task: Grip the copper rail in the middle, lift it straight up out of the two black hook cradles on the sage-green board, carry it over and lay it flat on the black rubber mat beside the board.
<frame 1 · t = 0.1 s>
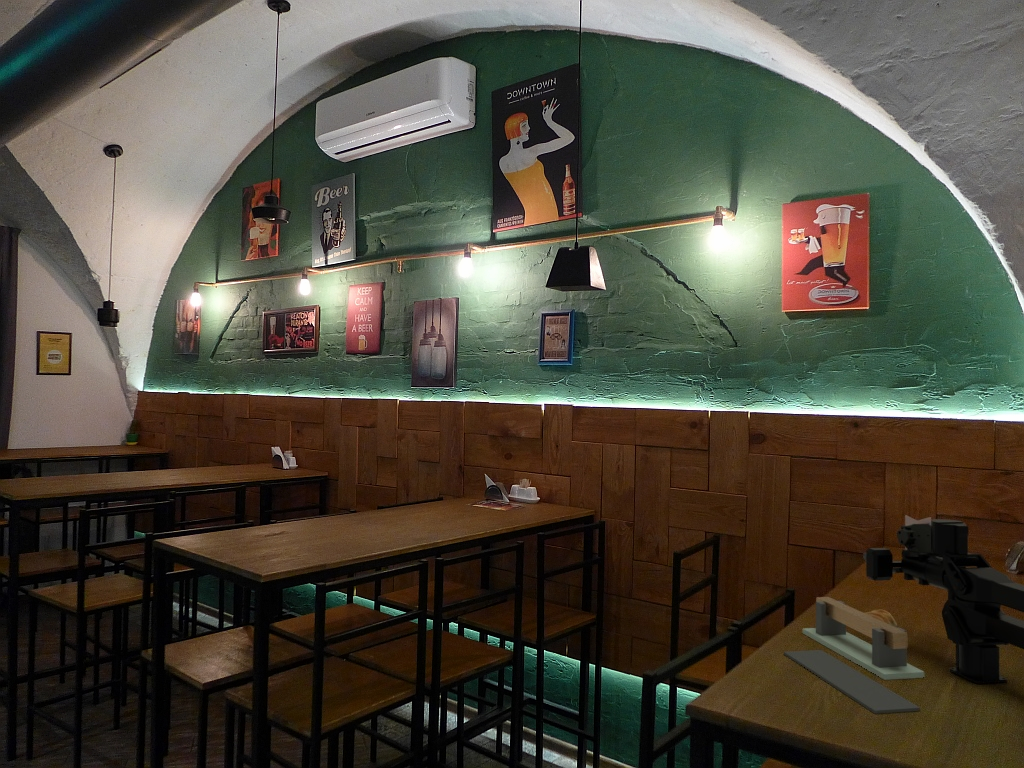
hand: (883, 554, 156), 17 cm above the table, tool horizontal, fingers open, 9 cm apart
greeting card: (914, 568, 218), on the table
rubber mat: (845, 679, 128), on the table
pastry: (876, 630, 158), on the table
copper rail: (858, 627, 142), point 5 cm above the table, touching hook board
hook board: (858, 653, 142), on the table
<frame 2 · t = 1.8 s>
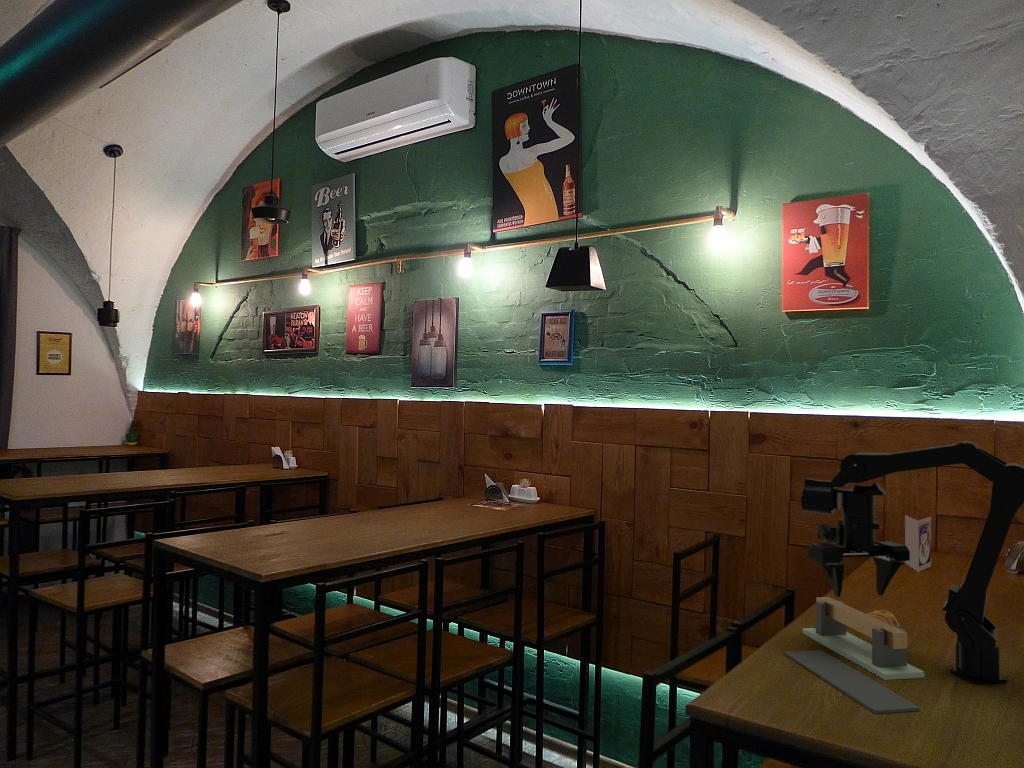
hand: (858, 595, 142), 11 cm above the table, tool pointing down, fingers open, 9 cm apart
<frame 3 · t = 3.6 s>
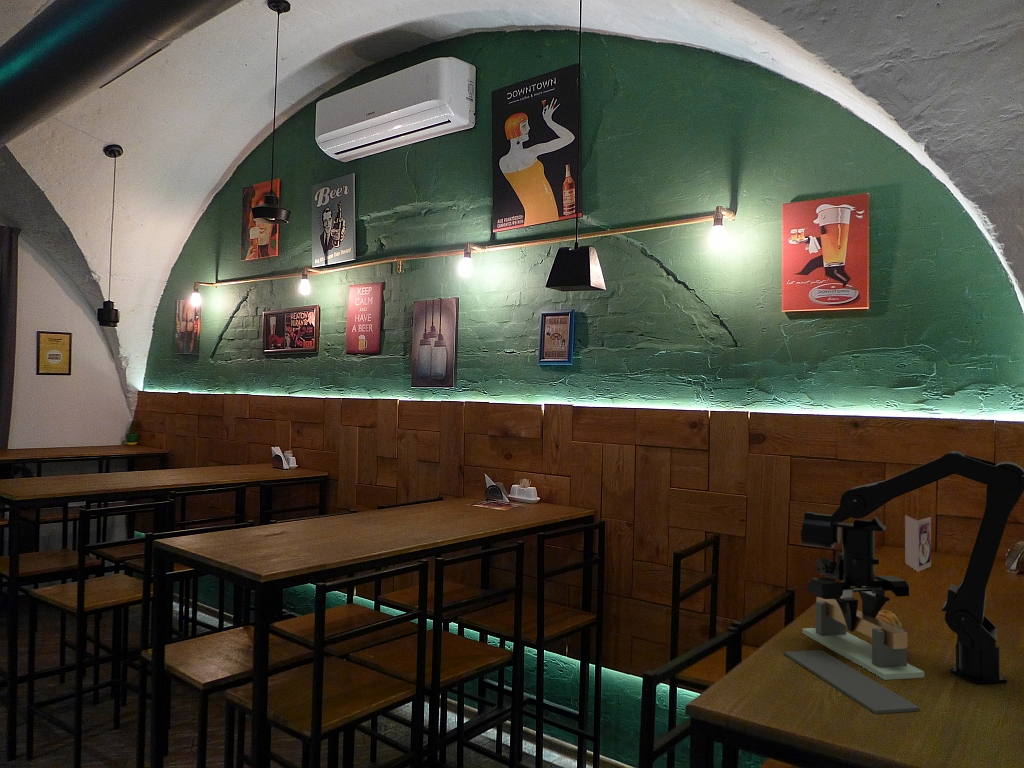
hand: (858, 630, 142), 4 cm above the table, tool pointing down, fingers closed on copper rail, 3 cm apart
copper rail: (858, 627, 142), point 5 cm above the table, touching gripper, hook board
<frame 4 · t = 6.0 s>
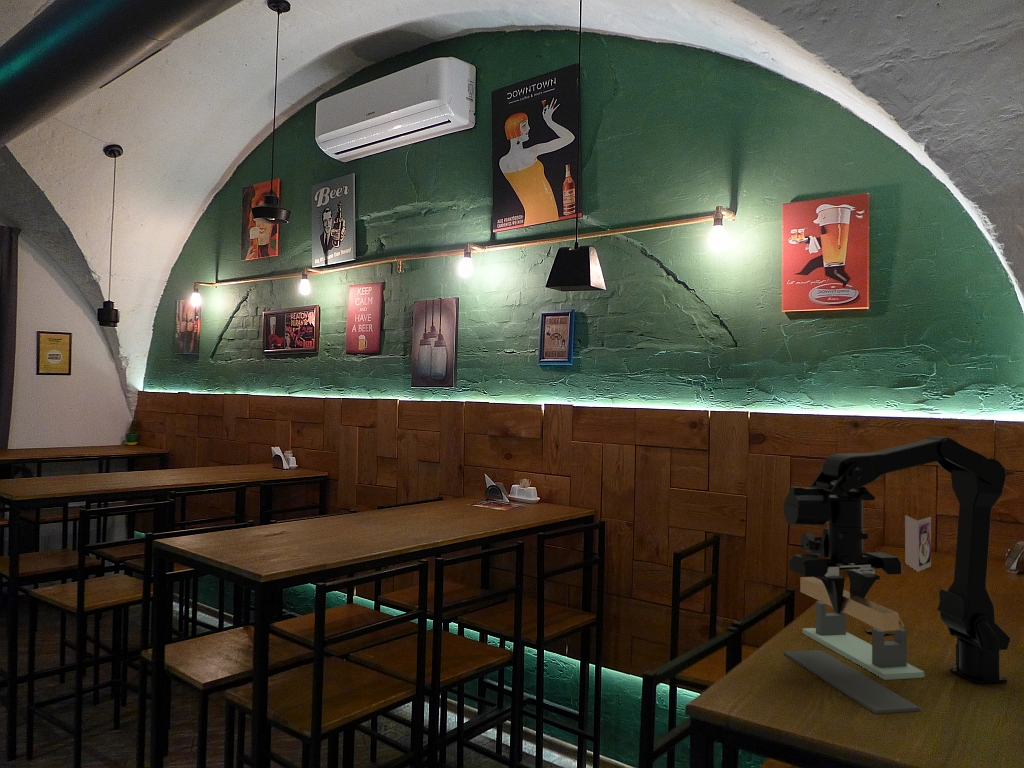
hand: (845, 612, 129), 12 cm above the table, tool pointing down, fingers closed on copper rail, 3 cm apart
copper rail: (845, 609, 129), point 12 cm above the table, touching gripper
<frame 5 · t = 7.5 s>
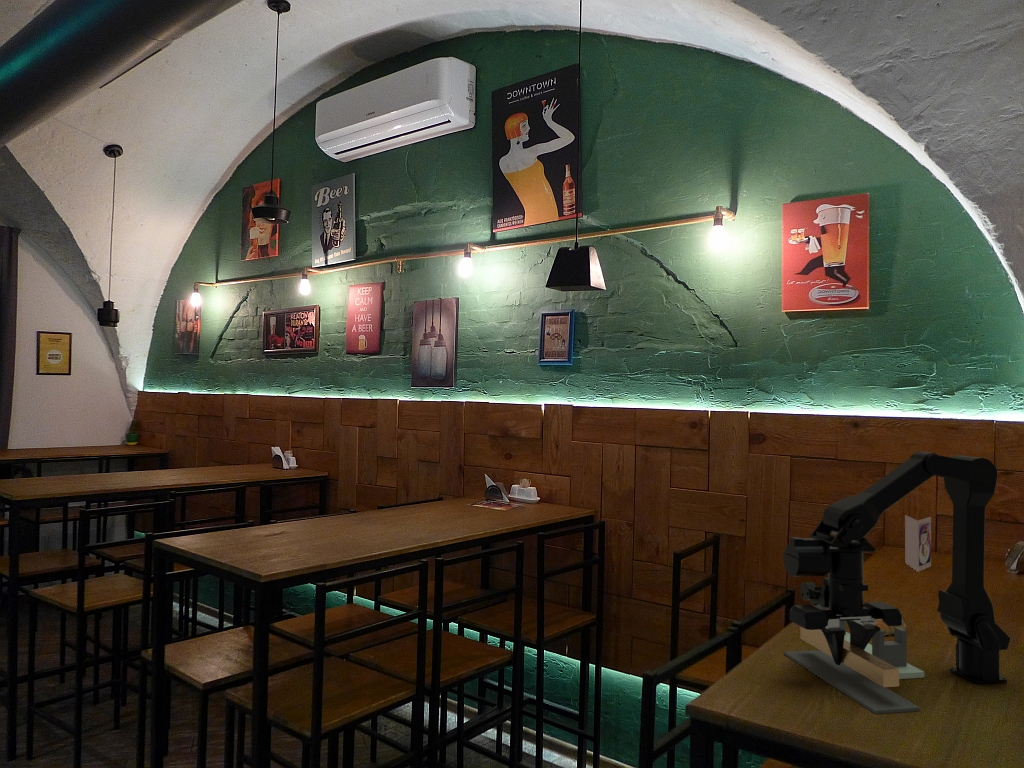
hand: (845, 663, 128), 3 cm above the table, tool pointing down, fingers closed on copper rail, 3 cm apart
copper rail: (845, 660, 129), point 3 cm above the table, touching gripper
when the fingers open (1 cm above the table, at t = 8.5 s): copper rail drops 2 cm, resting on rubber mat.
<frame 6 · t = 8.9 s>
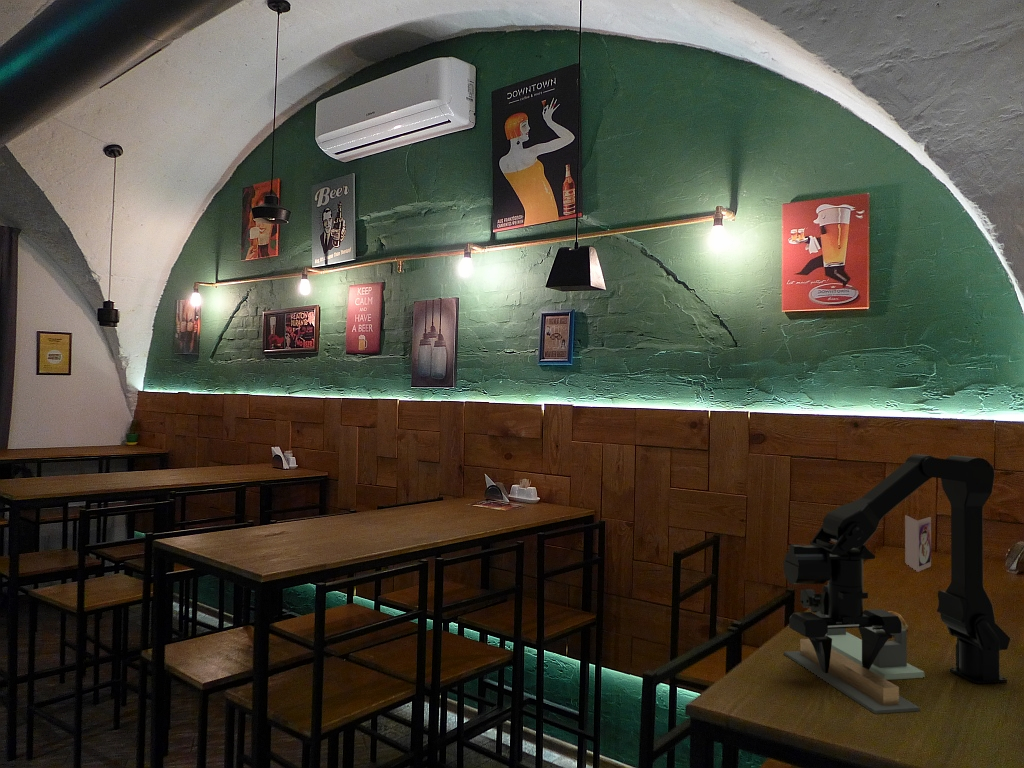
hand: (845, 671, 128), 1 cm above the table, tool pointing down, fingers open, 8 cm apart
copper rail: (845, 676, 128), resting on rubber mat
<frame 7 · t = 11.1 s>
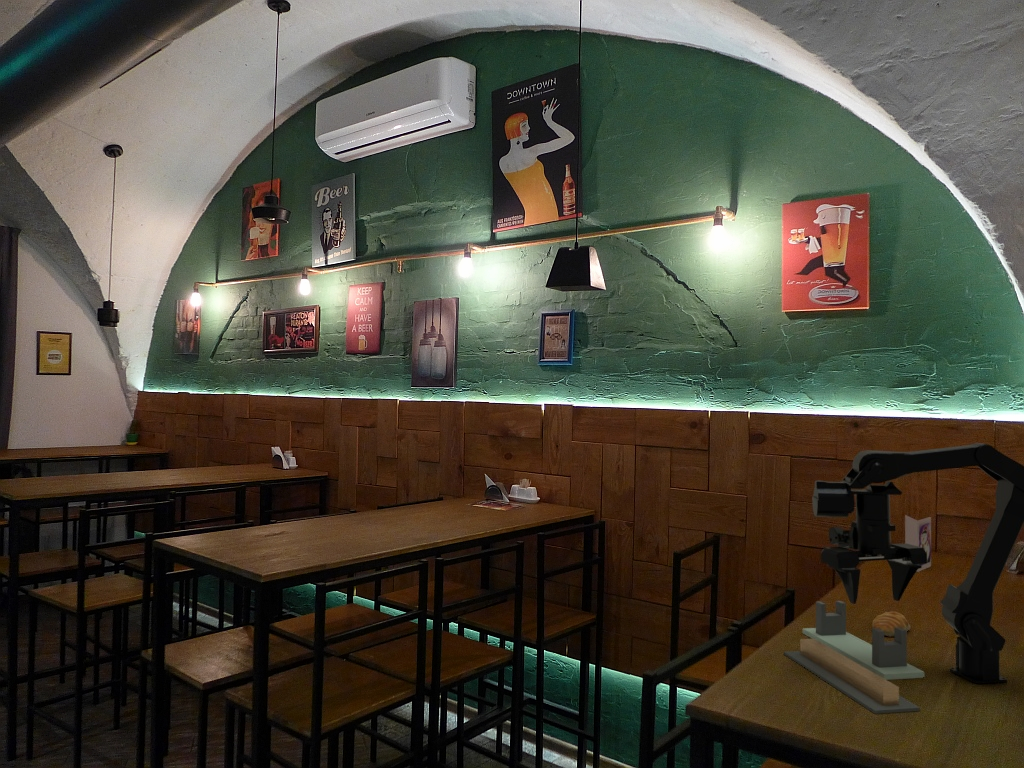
hand: (874, 601, 135), 12 cm above the table, tool pointing down, fingers open, 9 cm apart
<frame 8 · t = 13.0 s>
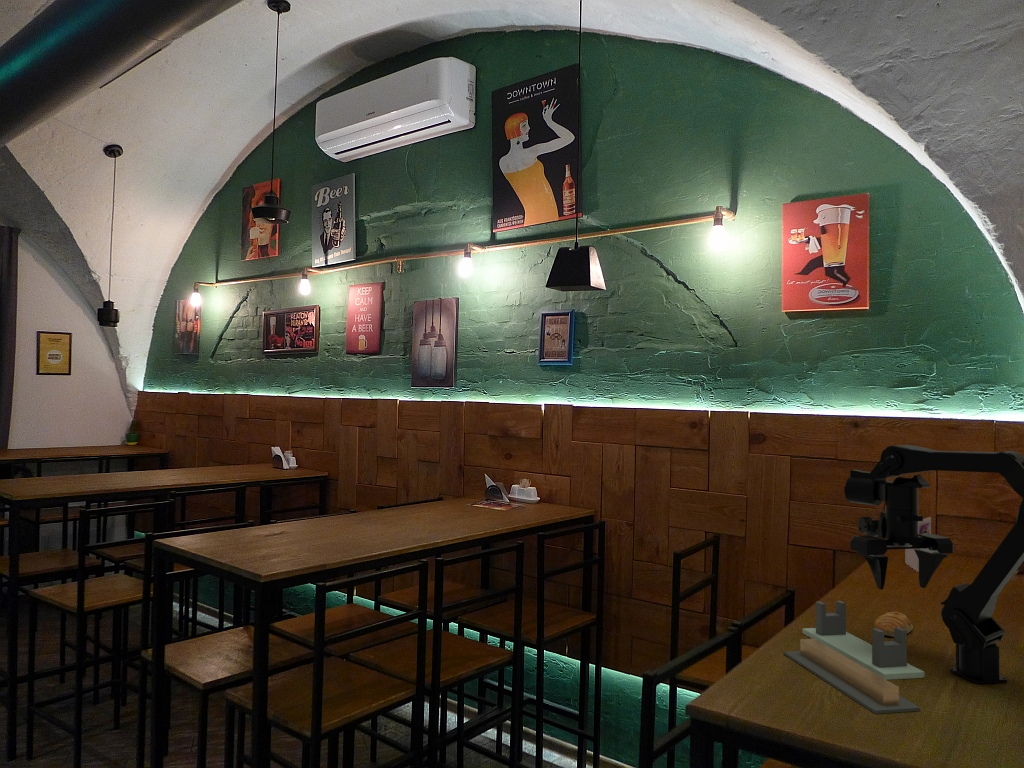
hand: (901, 588, 142), 13 cm above the table, tool pointing down, fingers open, 9 cm apart
at the end: copper rail inside the target area on the rubber mat (0.1 cm from its centre), point 0.5 cm above the rubber mat's base; copper rail tilted 0°; the gripper is holding nothing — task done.
